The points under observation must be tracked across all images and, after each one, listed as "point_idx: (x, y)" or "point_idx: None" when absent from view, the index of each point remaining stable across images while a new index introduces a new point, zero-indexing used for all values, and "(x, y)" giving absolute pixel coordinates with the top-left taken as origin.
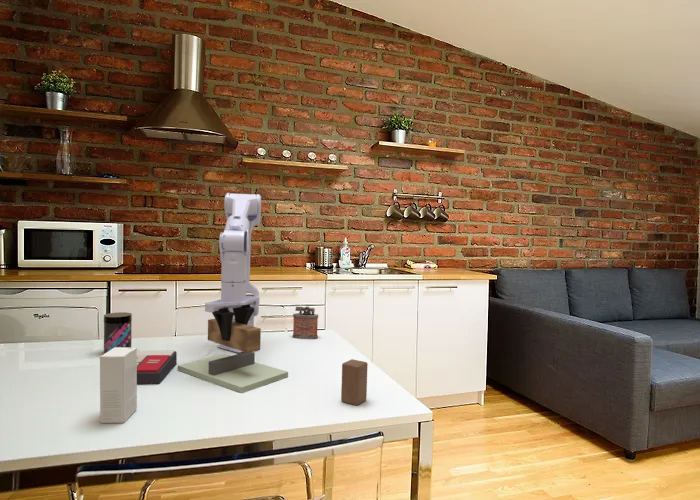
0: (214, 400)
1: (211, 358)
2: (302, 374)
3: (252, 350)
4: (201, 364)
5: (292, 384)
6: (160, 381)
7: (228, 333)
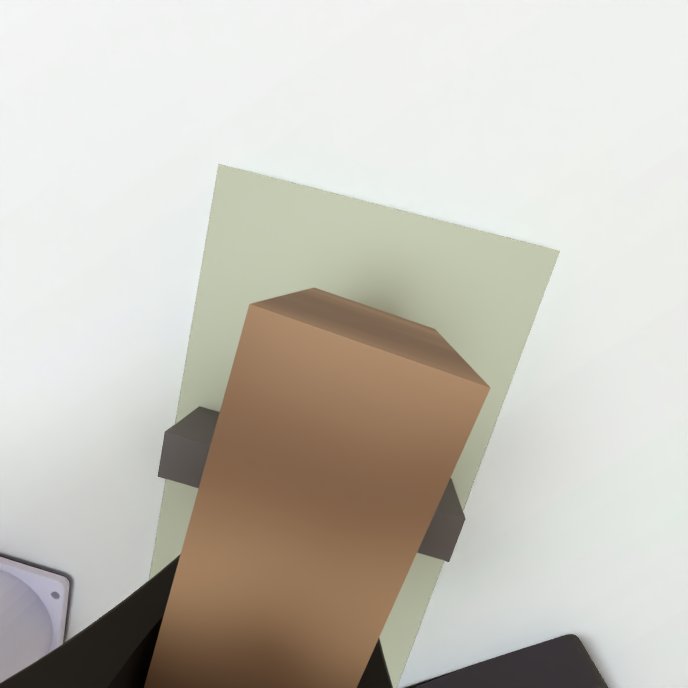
0: (679, 311)
1: None
2: (157, 121)
3: (392, 315)
4: None
5: (320, 80)
6: (563, 643)
7: (377, 648)
